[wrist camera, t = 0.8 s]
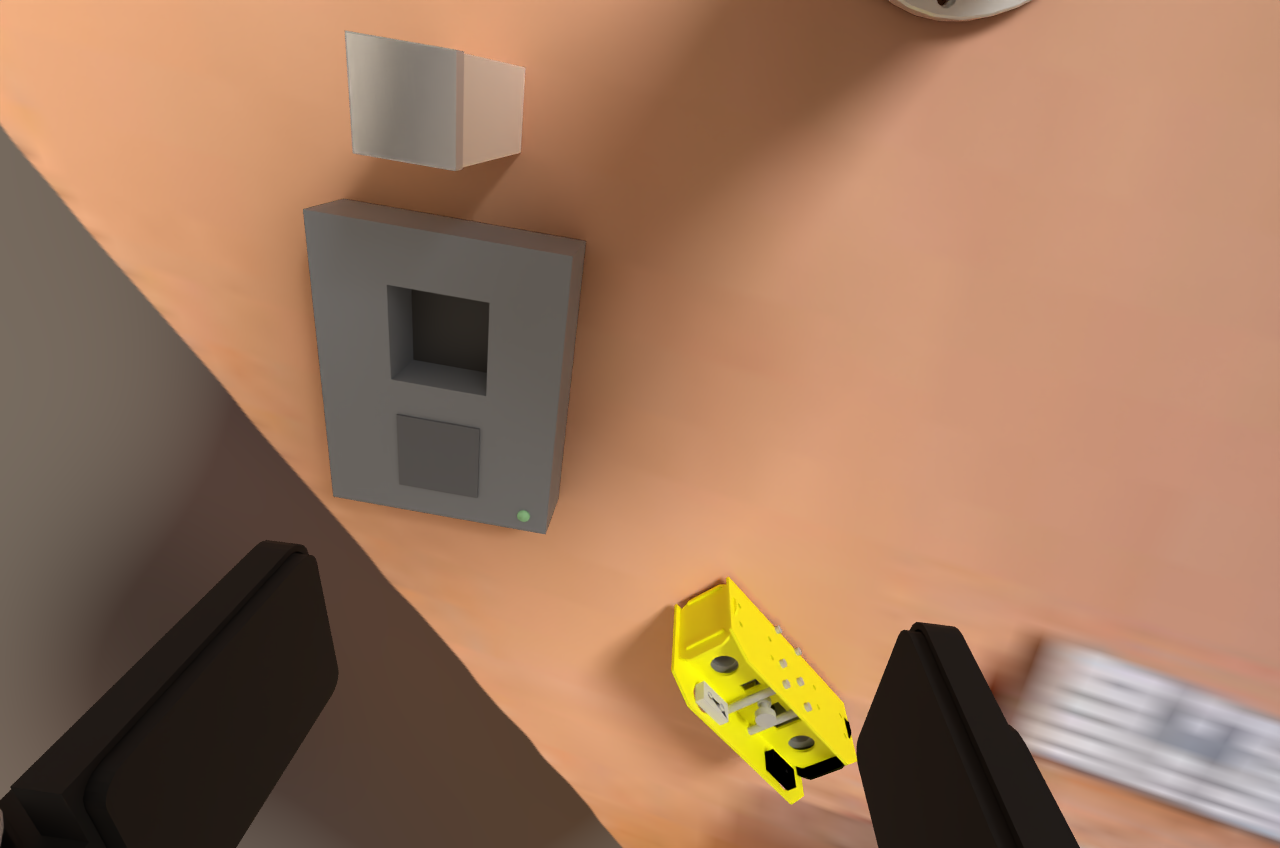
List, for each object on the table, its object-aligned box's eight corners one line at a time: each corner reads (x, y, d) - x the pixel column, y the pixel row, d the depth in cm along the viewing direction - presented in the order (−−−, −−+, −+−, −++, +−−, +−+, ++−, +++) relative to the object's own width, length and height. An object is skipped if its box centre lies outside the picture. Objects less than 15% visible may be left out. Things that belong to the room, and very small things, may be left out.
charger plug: (446, 52, 31) (344, 30, 22) (526, 66, 31) (456, 50, 22) (446, 140, 33) (352, 153, 24) (521, 153, 33) (455, 171, 24)
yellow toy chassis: (669, 599, 47) (664, 692, 39) (731, 567, 45) (737, 658, 37) (784, 717, 52) (798, 819, 44) (844, 693, 50) (870, 795, 42)
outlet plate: (343, 198, 35) (301, 209, 31) (586, 241, 34) (572, 256, 31) (363, 464, 43) (332, 497, 39) (558, 499, 43) (545, 535, 39)
